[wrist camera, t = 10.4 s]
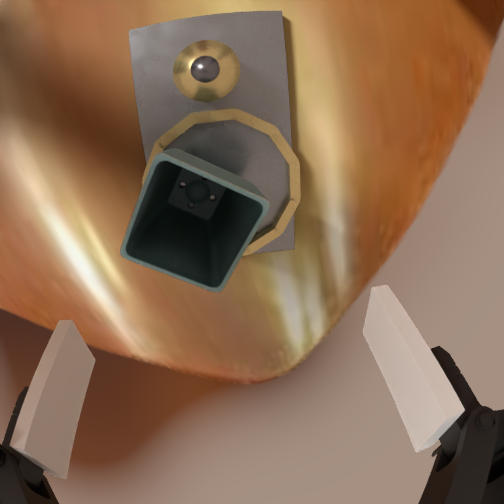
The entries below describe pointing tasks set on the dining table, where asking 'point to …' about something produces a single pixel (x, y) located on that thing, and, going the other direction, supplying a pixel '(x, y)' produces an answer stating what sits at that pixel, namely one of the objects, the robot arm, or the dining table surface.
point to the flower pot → (193, 220)
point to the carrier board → (223, 105)
